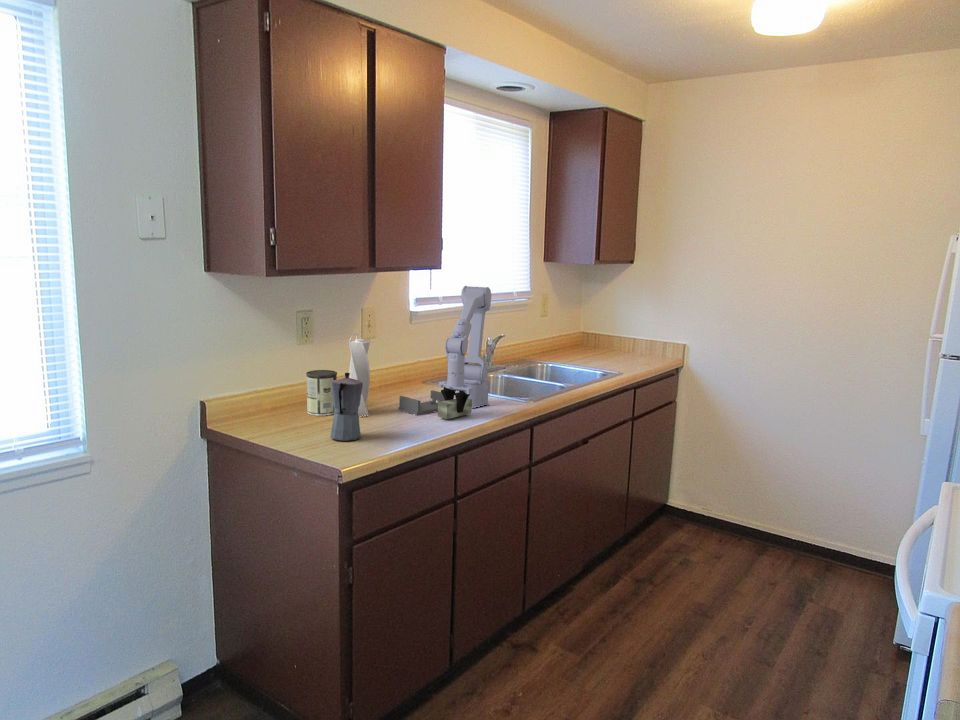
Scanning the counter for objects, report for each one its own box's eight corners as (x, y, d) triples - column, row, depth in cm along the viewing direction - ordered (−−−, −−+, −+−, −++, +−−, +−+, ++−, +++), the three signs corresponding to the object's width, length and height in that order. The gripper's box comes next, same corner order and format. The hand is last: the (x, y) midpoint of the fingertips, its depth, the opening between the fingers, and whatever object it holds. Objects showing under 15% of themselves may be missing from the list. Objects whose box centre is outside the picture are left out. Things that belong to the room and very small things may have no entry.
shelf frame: (433, 403, 250) (433, 390, 249) (452, 408, 243) (452, 394, 242) (398, 410, 237) (398, 396, 236) (416, 415, 231) (417, 401, 230)
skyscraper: (343, 413, 231) (343, 333, 227) (365, 411, 235) (366, 332, 230) (350, 419, 224) (350, 336, 219) (373, 417, 228) (374, 336, 223)
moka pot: (365, 431, 209) (365, 369, 205) (358, 446, 194) (358, 379, 190) (334, 431, 208) (334, 368, 205) (325, 445, 193) (324, 378, 190)
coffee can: (321, 407, 237) (321, 368, 235) (343, 411, 232) (343, 372, 230) (300, 413, 229) (299, 372, 226) (322, 417, 224) (322, 376, 221)
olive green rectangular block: (462, 410, 236) (462, 397, 235) (471, 413, 233) (472, 399, 232) (437, 416, 227) (437, 402, 226) (446, 419, 224) (447, 404, 223)
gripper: (432, 370, 229) (432, 408, 232) (462, 377, 220) (461, 416, 222) (447, 368, 234) (446, 405, 237) (477, 374, 225) (476, 413, 227)
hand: (454, 410), depth 230 cm, fingers closed on olive green rectangular block, 4 cm apart
